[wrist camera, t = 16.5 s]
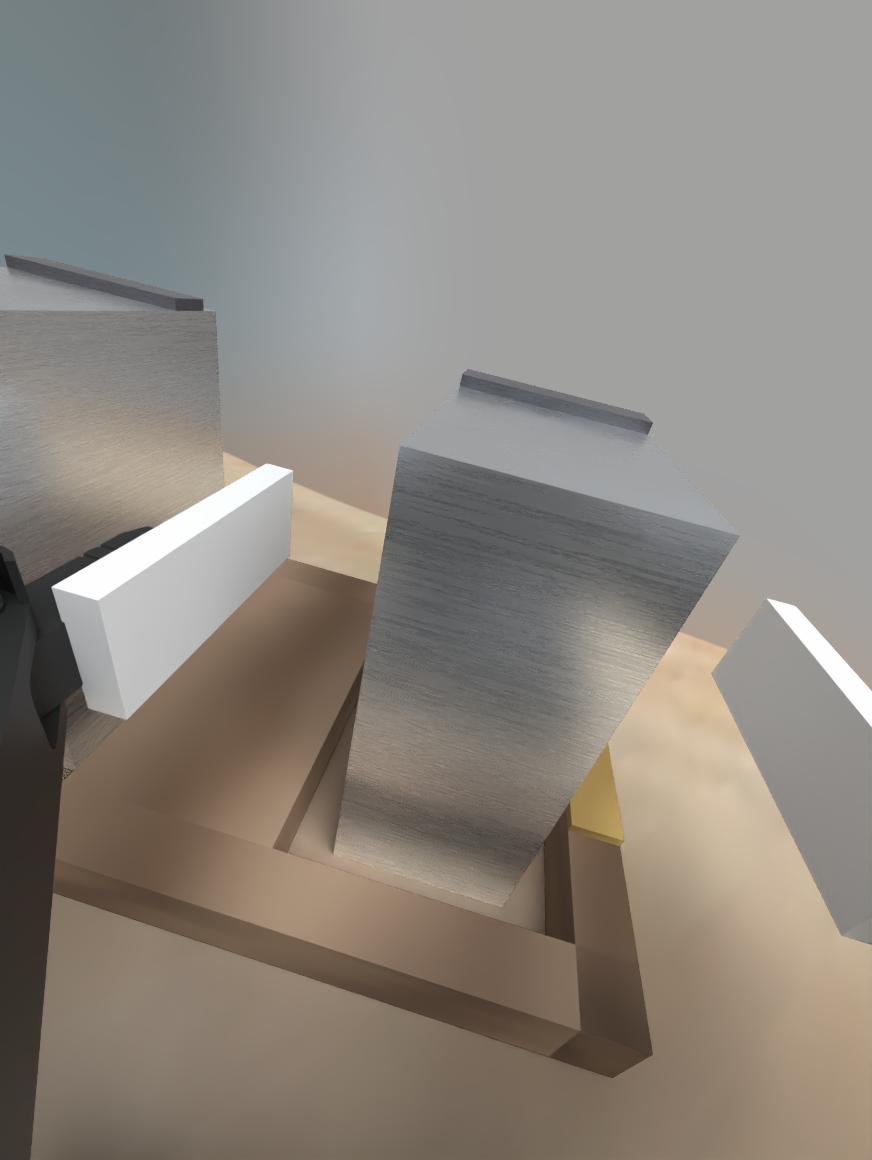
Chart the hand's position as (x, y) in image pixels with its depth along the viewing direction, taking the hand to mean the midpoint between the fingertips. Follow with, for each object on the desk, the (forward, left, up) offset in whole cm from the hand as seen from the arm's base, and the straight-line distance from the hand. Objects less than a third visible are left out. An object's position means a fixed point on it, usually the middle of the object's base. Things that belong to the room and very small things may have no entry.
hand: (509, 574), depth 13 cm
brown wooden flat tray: (-7, -1, -8) cm, 10 cm away
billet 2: (0, -1, -8) cm, 8 cm away
